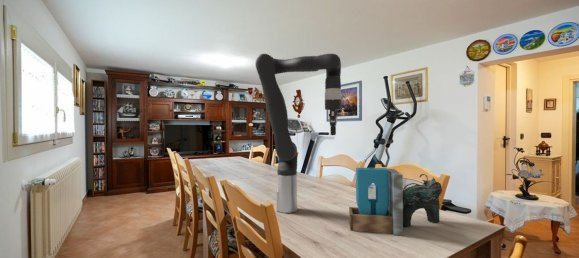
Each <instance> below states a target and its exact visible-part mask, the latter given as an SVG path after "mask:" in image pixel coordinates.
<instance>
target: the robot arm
mask: <svg viewBox="0 0 579 258" xmlns="http://www.w3.org/2000/svg"><path fill="white" fill-rule="evenodd" d="M255 69H256V72H257V74H258V77H259V78H258V79H259V80H260V84H261V88H262V94H263V98H264V101H265V107H266V111H267V115H268V119H269V124H270V127H271V129H272V133H273V138H274V145H275V147H274V148H275V152H276V156H277V158H278V165H277V169H276V170H277V174H276V175H277V190H276V212H280V213H284V214H291V213H292V214H293V213H296V212H297V211H298V185H297V184H298V181H297V179H298V176H297V175H298V172H297V171H298V148H297V145H296V144H295V143H294V142H293V140H292V138H291V134H290V130H289V118H288V115H289V114H288V110H287V105H286V100H285V97H284V96H283V95H284V94H283V93H282V91H281V88H280V87H279V85H278V84H279V83H278V82H277V78H276V75H278V74H283V73H298V72H299V73H304V72H306V73H310V72H313V73H314V72H318V71H321V70H322V71H323V70H325V71H326V73H325V74H326V75H325V79H324V80H325V82H324V87H325V90H324V110H325V111H329V113H328V121H329V127H330V136H336V134H337V123H338V113H337V112H336V111H339V110H340V111H341V110H342V109H343V108H342V106H343V105H342V82H341V74H342V63H341V58H340V56H339V55H338V54H336V53H324V54H320V55H305V56H298V57H293V58H287V59H278V58H274V57H273V56H272V55H270V54H268V53H261V54H259V55H258V56H257V57H256V59H255Z"/></svg>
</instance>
